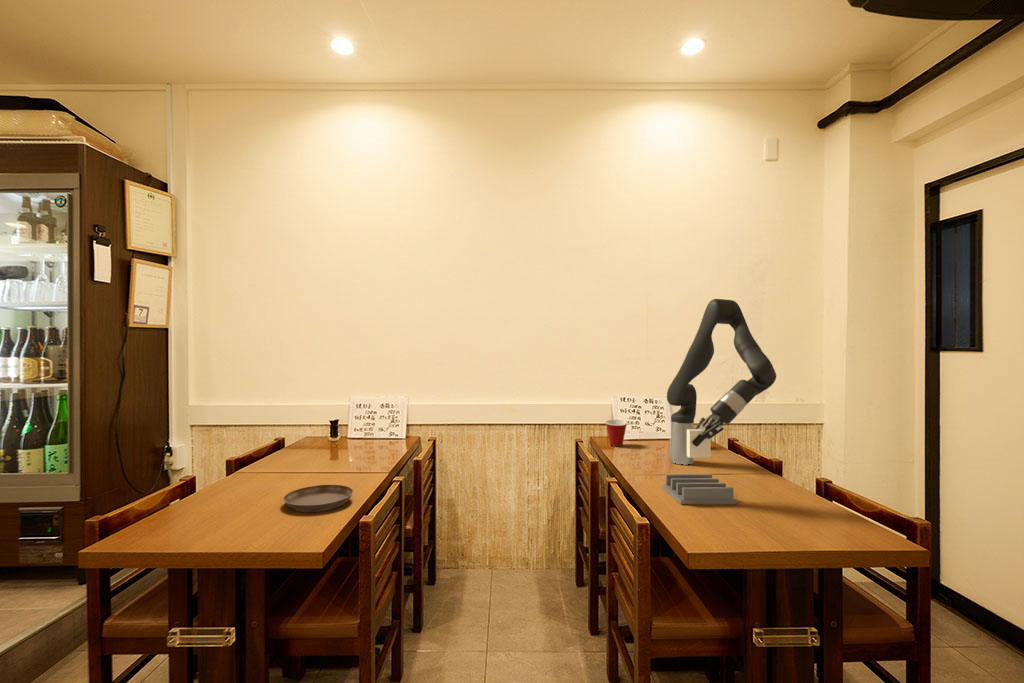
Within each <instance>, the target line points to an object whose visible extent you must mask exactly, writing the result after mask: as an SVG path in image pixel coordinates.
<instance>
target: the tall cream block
mask: <svg viewBox="0 0 1024 683" xmlns="http://www.w3.org/2000/svg"><path fill="white" fill-rule="evenodd" d="M702 431H703V429H695V428H694V429H687V457H689V458H694V459H696V458H697V459H699V458H700V459H701V458H702V459H705V458H706V459H707V458H709V459H710V458H711V451H712V450H711V445H712V443H711V442H712V441H711V440H712V438H710V439H708V438H707V439H704V440H703V441H702V442H701V443H700V444H699V445H698V446H697V447H696V446H695V445H694V444H693V443H692V441H693V440H694V439H695V438H696V437H697V436H698V435H699V434H700V433H701V432H702ZM711 459H712V458H711Z"/></svg>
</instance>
